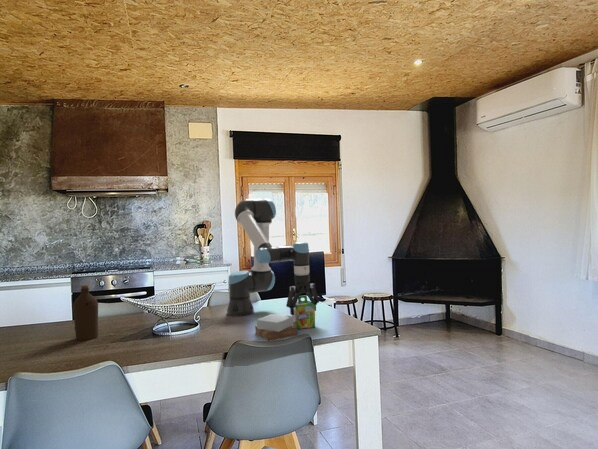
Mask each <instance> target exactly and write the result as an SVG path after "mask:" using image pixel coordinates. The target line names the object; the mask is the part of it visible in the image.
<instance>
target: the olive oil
mask: <svg viewBox="0 0 598 449" xmlns="http://www.w3.org/2000/svg"><path fill="white" fill-rule="evenodd" d="M72 313H73V321H74V332H75V340H76V341H82V342H83V341H89V340H93V339H96V338H98V337H99V303H98V300H97V298H96V297H95V296H94V295H92V294H91V293H90V288H89V284H82V285H80V294H79V296H77V298H76V299H75V300H74V302H73V305H72Z"/></svg>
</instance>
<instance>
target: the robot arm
mask: <svg viewBox="0 0 598 449" xmlns="http://www.w3.org/2000/svg"><path fill="white" fill-rule="evenodd" d="M276 209H277V208H276V204H275V203H274V202H273V200H272V199H270V198H246V199H242V200H241V201H239V202H238V203H237V205H236V206H235V209H234V217H235V220H236V221H237V224H239V225H241V226H242V228H243V230H244V231H245V233H246V235H247V236H248V238H249V240H250V241H251V243H252V245H253V266H252V267H251V269H250V271H249V270H239V271H235V272H232V273H230V274H229V276H228V296H229V297H228V298H229V302H228V304H227V309H226V315H227V316H229V317H242V316H248V315H251V314H254V312H255V310H254V309H255V308H254V305H253V303H252V300H251V294H253V293H254V294H255V293H259V292H261V293H262V292H267V291H271V290H272V289H273V287H274V285H275V283H276V276H275V273H274V271H273V270H272V268H271V267H270V265H269V264H272V263H281V262H288V261H289V262H290V261H291V262H293V273H294V276H293V277H294V285H292V286H289V287H288V295H287V300H286V301H287V302H286V304H285V307H287V308H289V310H290V311H289V313H290V316H293V321H294V322H296V308H294V307H295V305H296V302H297V301H298V298H299V296H301V295H302V294H306V296H307V299H309V301H310V302H312V303H313V304H315V312H316V311H317V305H318V303H320V299H319V296H318V292H317V289H316V284H315V283H310V282H311V278H310V277H311V275H310V249H309V248H310V247H309V242H306V241H304V242H303V241H299V242H294V243H292V245H291V244H289V245H287V244H286V245H283V246H282V245H281V246H272V244H271V243H270V241H269V240H270V225H271V224H272V223H273V222H272V220H274V219H275V217H276V215H277V210H276Z"/></svg>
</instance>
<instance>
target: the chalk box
mask: <svg viewBox="0 0 598 449" xmlns="http://www.w3.org/2000/svg"><path fill="white" fill-rule="evenodd" d="M301 299H304V300H301ZM294 308H296V322H294V321H293V325H292V326H294V327H297V330H302V329H313V328H316V311H315V304H313V303H312V302H311V301H310V300H308V296H307V294H306V295H300V296H299V298H298V300H297V302H296V305H295V307H294Z"/></svg>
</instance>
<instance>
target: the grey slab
mask: <svg viewBox="0 0 598 449" xmlns="http://www.w3.org/2000/svg"><path fill="white" fill-rule="evenodd" d="M256 326H257V329H263V330H270V331H277V332H279V331H281V330H284V329H286V328H288V327H290V326H294V325H293V316H292V315H285V314H279V313H278V314H277V313H271V314H268V315H266V316H263V317H260V318H258V319H256Z"/></svg>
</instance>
